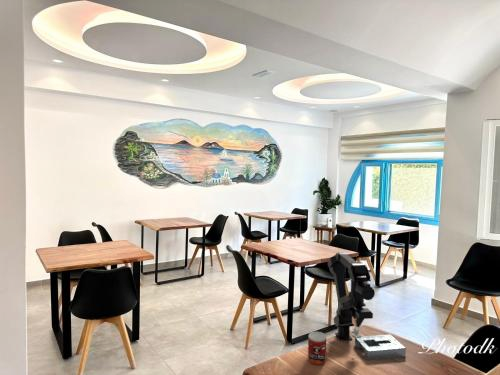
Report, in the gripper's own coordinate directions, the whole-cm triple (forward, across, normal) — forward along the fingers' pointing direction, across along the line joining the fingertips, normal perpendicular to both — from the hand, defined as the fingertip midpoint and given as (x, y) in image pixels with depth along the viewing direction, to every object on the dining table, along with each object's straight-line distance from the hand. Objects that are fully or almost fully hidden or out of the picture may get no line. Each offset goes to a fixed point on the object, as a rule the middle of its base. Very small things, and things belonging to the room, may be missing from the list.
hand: (356, 325), depth 146 cm
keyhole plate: (+13, 0, +12) cm, 17 cm away
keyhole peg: (+5, 0, 0) cm, 5 cm away
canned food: (+13, +4, -19) cm, 24 cm away
